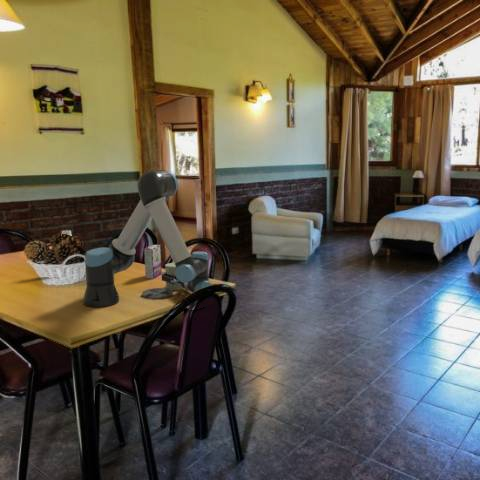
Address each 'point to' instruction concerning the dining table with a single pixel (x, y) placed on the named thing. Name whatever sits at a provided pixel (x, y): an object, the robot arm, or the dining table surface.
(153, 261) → the candy bar box
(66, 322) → the dining table surface
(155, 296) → the flange plate
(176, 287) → the can
